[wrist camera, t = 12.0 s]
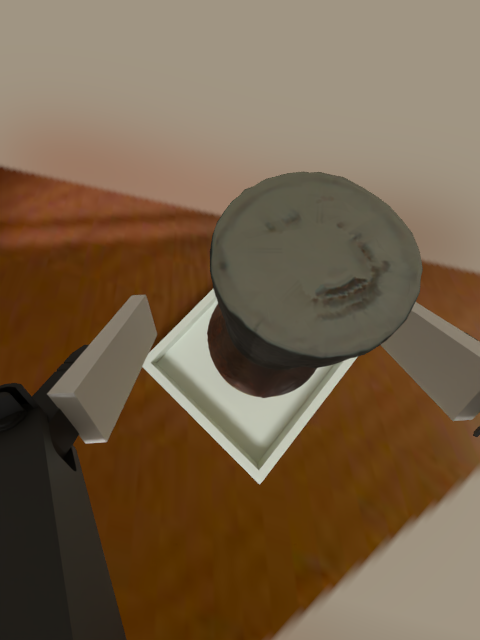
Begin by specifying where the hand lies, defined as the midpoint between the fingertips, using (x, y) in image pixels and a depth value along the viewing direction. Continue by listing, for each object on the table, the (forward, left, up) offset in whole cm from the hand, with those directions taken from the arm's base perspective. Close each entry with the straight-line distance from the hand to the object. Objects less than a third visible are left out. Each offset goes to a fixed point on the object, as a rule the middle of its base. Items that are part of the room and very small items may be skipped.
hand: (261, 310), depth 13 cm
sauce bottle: (+2, -2, -11) cm, 12 cm away
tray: (+2, -2, -12) cm, 12 cm away
